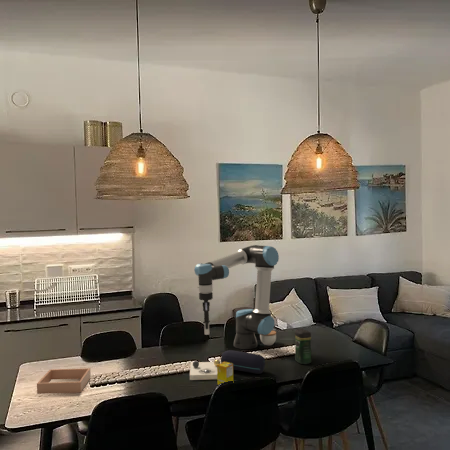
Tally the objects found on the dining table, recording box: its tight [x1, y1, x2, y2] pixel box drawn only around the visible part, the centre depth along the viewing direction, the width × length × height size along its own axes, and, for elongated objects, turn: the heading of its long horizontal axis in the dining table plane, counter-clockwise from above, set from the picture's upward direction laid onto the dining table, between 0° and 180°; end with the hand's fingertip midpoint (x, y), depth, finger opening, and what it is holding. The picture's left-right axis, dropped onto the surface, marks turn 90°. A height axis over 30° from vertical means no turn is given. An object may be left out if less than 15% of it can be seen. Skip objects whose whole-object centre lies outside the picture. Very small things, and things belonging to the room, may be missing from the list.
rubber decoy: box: [192, 360, 200, 367], centre depth 258 cm, size 3×3×3 cm
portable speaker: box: [220, 349, 266, 375], centre depth 259 cm, size 25×10×10 cm, turn 60°
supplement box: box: [216, 362, 234, 386], centre depth 238 cm, size 6×6×11 cm
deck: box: [189, 361, 221, 381], centre depth 257 cm, size 20×18×2 cm
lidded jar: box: [259, 330, 277, 346], centre depth 308 cm, size 11×11×9 cm
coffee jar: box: [294, 328, 312, 365], centre depth 272 cm, size 10×8×19 cm
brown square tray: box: [36, 367, 91, 395], centre depth 241 cm, size 21×20×5 cm
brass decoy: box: [213, 359, 221, 366], centre depth 260 cm, size 3×3×3 cm
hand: (206, 334), depth 265 cm, fingers closed
